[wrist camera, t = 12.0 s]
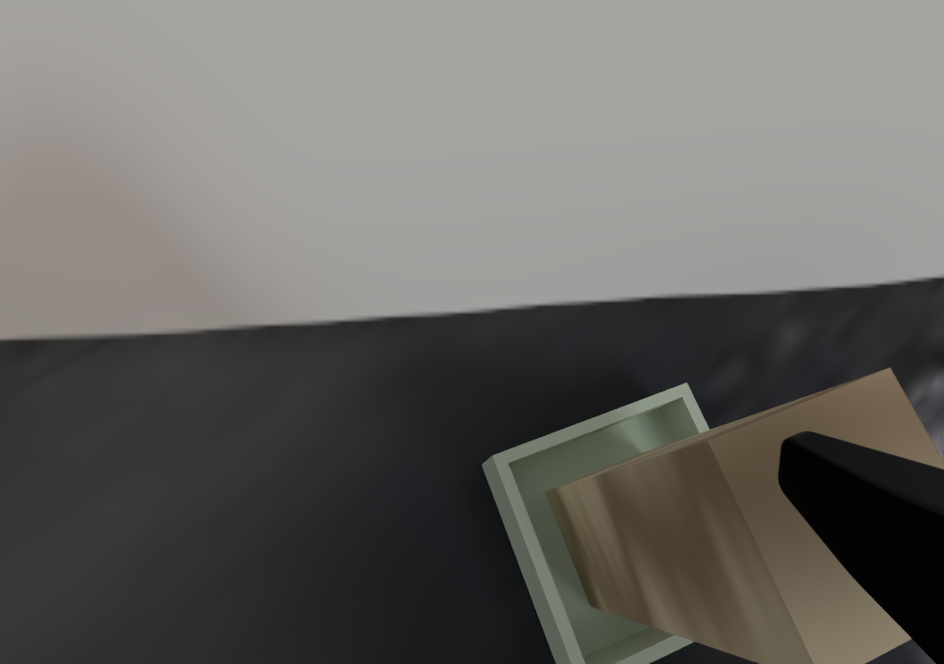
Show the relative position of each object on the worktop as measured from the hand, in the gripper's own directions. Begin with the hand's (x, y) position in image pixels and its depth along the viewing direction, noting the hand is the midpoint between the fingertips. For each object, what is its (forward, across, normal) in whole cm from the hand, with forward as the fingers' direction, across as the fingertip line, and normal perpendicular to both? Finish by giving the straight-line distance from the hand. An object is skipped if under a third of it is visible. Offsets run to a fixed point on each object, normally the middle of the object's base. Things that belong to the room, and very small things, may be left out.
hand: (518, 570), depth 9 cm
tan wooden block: (+8, -6, +10) cm, 14 cm away
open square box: (+9, -6, +11) cm, 15 cm away
